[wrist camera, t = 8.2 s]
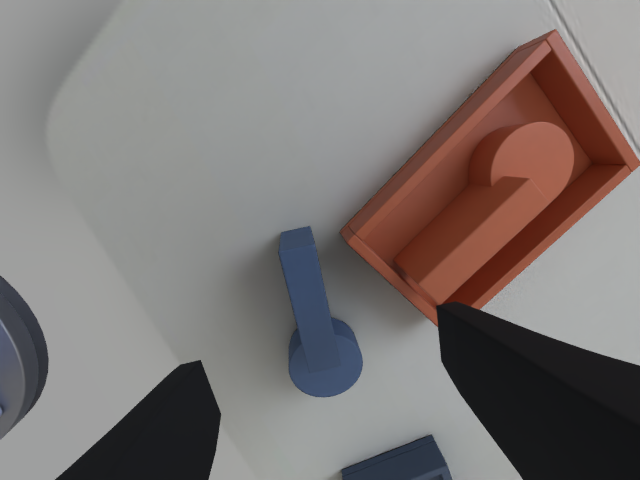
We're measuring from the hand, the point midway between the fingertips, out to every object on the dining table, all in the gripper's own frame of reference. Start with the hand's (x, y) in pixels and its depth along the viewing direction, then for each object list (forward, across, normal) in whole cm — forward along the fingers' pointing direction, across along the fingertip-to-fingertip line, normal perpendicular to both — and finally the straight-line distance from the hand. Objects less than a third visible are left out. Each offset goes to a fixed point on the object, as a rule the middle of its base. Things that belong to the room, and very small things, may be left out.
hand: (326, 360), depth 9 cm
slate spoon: (+6, 0, +2) cm, 6 cm away
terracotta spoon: (+6, -8, -2) cm, 10 cm away
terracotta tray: (+6, -8, -2) cm, 10 cm away
